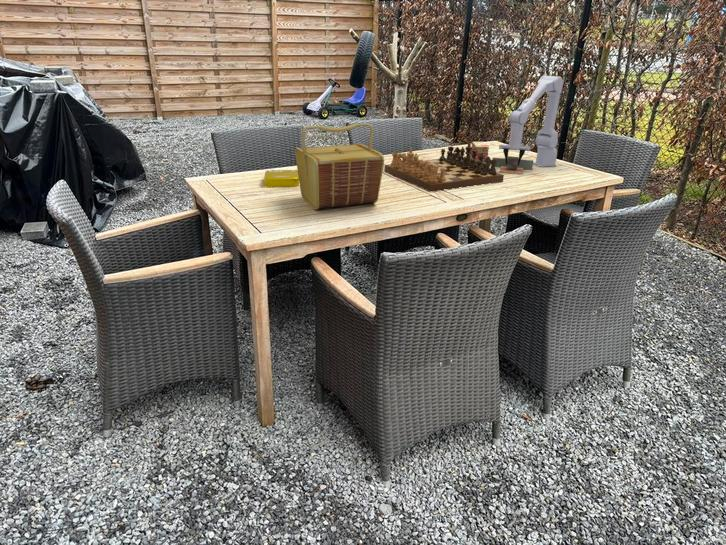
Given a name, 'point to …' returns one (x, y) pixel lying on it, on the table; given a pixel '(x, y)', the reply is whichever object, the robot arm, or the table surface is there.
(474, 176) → the chess set
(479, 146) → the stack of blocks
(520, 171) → the tile
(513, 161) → the letter cube
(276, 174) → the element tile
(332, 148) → the picnic basket
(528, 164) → the screen
